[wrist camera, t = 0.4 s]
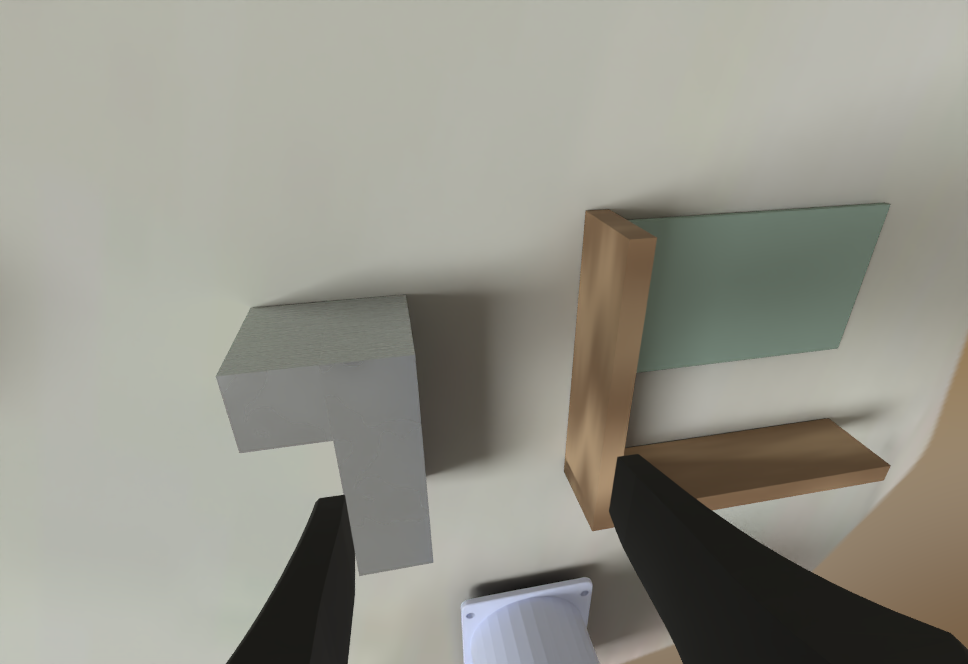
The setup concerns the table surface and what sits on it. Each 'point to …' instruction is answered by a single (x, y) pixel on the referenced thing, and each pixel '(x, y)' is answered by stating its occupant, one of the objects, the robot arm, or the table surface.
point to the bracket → (341, 411)
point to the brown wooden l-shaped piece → (690, 462)
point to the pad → (754, 283)
